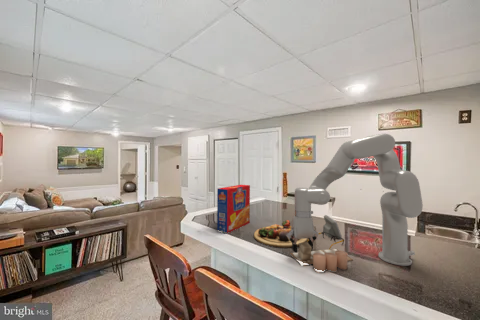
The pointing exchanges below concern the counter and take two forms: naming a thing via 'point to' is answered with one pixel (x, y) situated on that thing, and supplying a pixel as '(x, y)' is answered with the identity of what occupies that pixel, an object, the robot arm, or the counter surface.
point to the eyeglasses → (331, 238)
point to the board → (310, 261)
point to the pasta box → (233, 207)
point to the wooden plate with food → (276, 235)
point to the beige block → (305, 251)
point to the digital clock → (331, 227)
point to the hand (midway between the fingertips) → (302, 250)
